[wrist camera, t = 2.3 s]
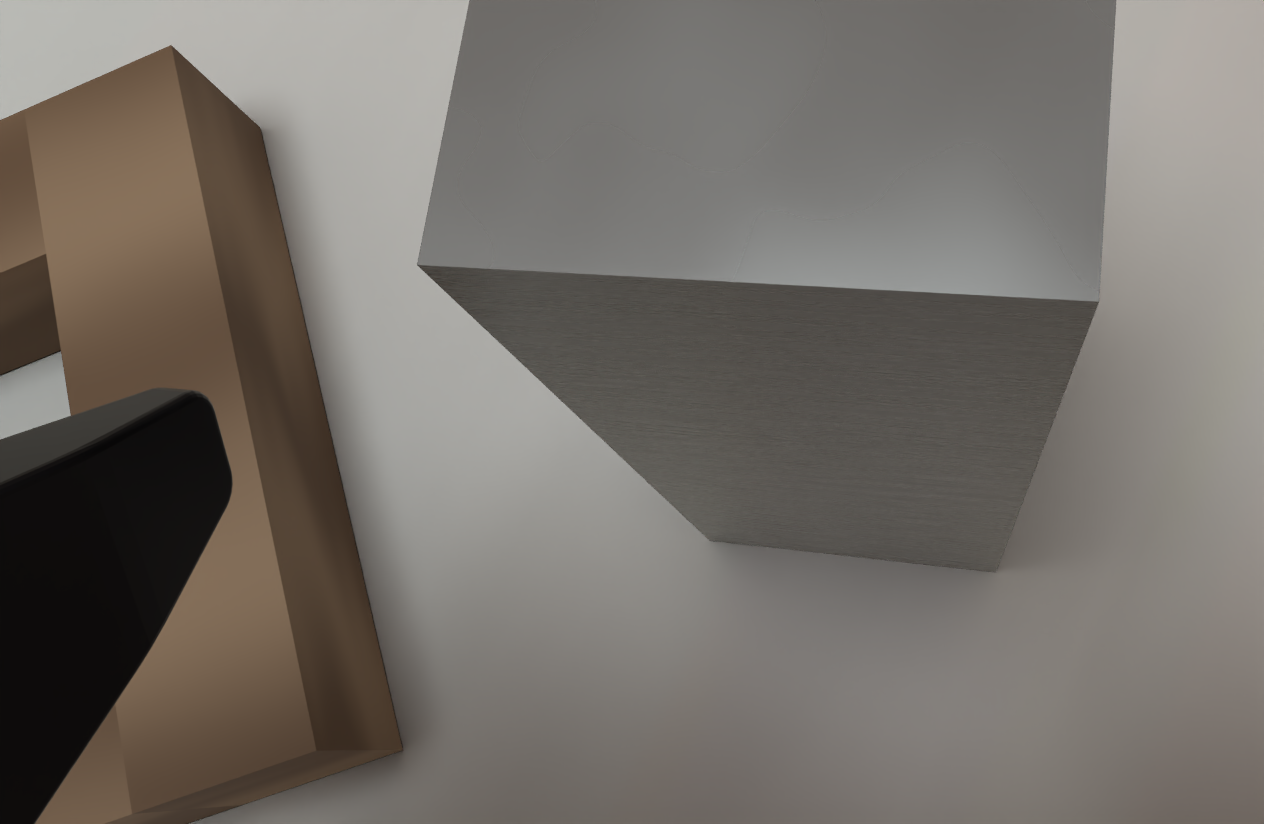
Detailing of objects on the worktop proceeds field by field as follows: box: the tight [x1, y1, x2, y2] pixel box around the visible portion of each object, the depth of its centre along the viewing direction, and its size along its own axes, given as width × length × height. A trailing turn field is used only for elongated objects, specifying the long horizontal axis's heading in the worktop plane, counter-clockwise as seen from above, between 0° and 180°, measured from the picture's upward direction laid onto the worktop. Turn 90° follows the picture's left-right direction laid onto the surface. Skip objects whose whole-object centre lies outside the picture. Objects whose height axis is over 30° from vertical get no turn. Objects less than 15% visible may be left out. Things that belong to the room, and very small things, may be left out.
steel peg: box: [417, 0, 1116, 572], centre depth 14 cm, size 4×4×12 cm
